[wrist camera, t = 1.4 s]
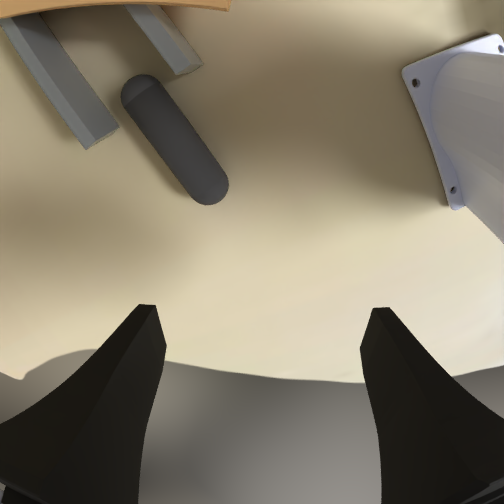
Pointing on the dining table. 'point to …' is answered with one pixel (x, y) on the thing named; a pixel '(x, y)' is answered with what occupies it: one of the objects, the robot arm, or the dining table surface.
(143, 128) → the dark grey rounded rod
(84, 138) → the grey angled bars
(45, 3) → the cover
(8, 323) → the dining table surface
